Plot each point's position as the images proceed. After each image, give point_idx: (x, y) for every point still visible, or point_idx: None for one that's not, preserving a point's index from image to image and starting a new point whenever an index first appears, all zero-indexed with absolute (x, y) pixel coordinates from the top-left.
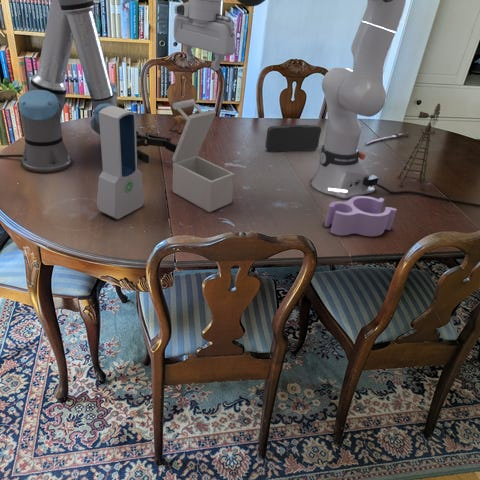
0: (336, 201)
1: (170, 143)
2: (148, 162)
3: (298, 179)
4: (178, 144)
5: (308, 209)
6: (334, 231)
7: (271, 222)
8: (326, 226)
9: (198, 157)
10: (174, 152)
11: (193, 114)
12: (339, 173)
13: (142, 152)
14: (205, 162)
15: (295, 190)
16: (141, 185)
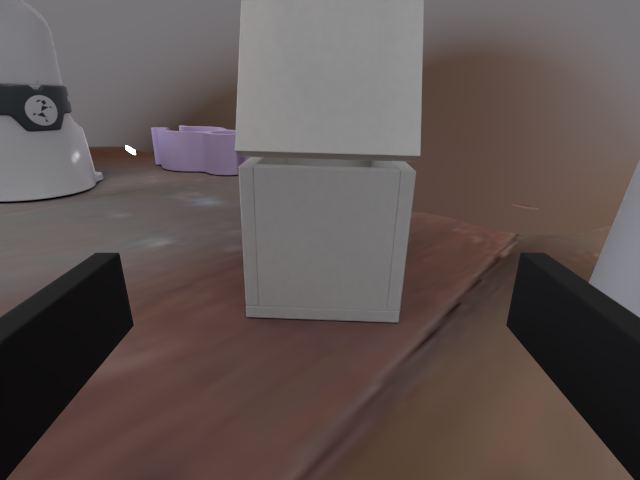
0: (210, 134)
1: (33, 318)
2: (512, 319)
3: (13, 213)
4: (421, 39)
5: (191, 187)
6: None
7: None
8: (237, 173)
9: (252, 162)
10: (106, 353)
11: None
12: (79, 130)
13: (590, 298)
14: (267, 159)
15: (103, 205)
16: (622, 217)
